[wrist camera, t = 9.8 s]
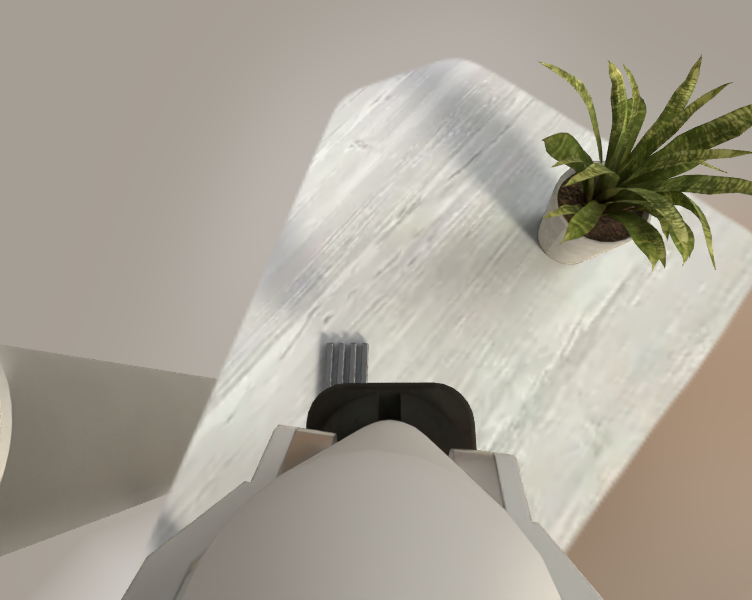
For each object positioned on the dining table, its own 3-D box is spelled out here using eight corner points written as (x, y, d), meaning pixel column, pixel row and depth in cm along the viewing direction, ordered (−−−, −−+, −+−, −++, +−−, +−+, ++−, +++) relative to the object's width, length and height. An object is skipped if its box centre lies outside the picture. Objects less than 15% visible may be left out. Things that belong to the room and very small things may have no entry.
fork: (312, 586, 28) (311, 590, 27) (327, 343, 33) (326, 342, 32) (361, 589, 28) (360, 593, 27) (369, 344, 33) (368, 343, 32)
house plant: (448, 272, 34) (490, 157, 18) (503, 150, 37) (579, -38, 21) (608, 339, 32) (815, 272, 16) (653, 202, 35) (862, 34, 19)
